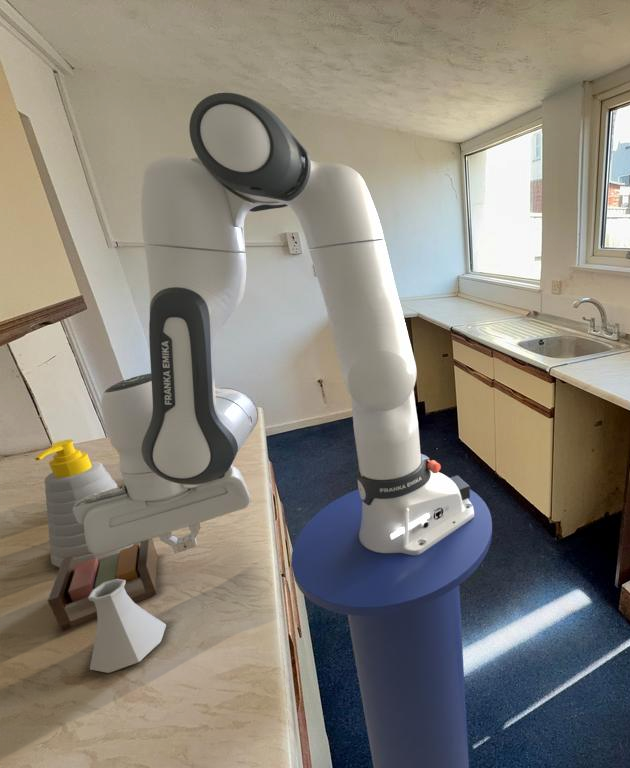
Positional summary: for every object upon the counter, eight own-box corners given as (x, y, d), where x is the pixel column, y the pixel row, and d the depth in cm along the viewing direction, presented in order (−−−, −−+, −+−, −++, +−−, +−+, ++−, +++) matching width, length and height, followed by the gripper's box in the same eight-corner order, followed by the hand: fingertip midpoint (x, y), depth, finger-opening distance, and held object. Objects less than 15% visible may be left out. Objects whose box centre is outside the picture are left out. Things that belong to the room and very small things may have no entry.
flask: (178, 619, 57) (158, 563, 53) (142, 669, 50) (117, 608, 47) (120, 627, 55) (97, 570, 52) (75, 679, 49) (45, 617, 46)
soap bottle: (29, 576, 64) (-24, 465, 58) (84, 527, 76) (45, 431, 69) (122, 561, 67) (81, 454, 61) (162, 516, 79) (130, 423, 72)
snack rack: (158, 557, 68) (149, 531, 66) (156, 594, 61) (146, 565, 59) (75, 586, 62) (62, 558, 60) (62, 631, 55) (47, 600, 53)
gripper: (63, 511, 53) (96, 591, 58) (242, 463, 66) (258, 532, 70) (72, 490, 58) (102, 566, 62) (238, 449, 70) (253, 515, 75)
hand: (186, 548), depth 66 cm, fingers closed
